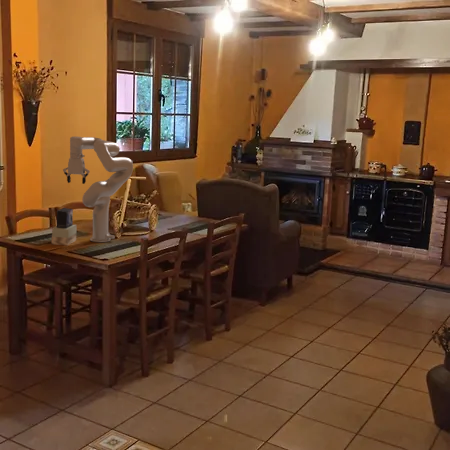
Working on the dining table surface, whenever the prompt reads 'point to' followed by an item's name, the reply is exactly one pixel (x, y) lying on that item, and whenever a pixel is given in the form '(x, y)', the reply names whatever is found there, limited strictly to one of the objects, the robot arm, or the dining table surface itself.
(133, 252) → the dining table surface
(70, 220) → the small box
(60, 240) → the tower base
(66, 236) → the tower top
